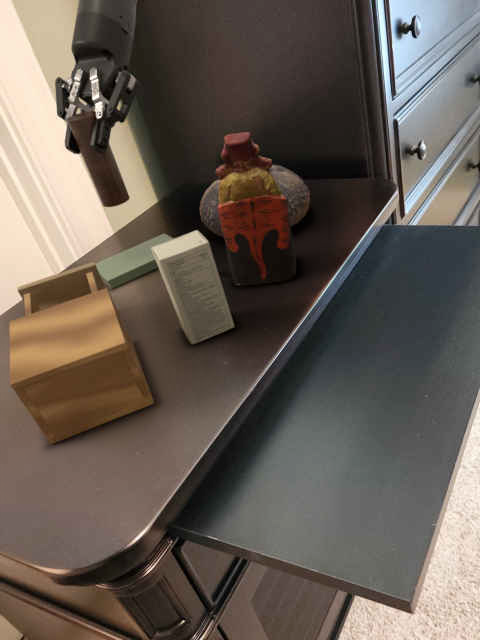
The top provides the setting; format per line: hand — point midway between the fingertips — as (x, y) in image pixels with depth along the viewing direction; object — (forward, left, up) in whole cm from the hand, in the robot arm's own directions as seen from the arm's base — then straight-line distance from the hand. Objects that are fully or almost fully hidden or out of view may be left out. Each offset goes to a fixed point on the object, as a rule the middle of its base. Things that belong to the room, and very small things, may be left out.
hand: (85, 150), depth 73 cm
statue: (+22, -4, -19) cm, 30 cm away
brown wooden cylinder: (0, +2, -8) cm, 8 cm away
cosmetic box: (+18, -18, -19) cm, 32 cm away
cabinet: (+8, -30, -19) cm, 36 cm away
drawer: (0, -18, -18) cm, 25 cm away
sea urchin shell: (+18, +14, -19) cm, 30 cm away
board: (0, +2, -19) cm, 19 cm away
